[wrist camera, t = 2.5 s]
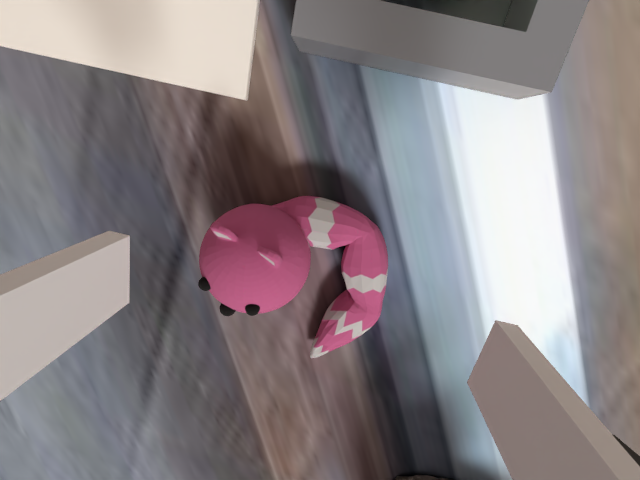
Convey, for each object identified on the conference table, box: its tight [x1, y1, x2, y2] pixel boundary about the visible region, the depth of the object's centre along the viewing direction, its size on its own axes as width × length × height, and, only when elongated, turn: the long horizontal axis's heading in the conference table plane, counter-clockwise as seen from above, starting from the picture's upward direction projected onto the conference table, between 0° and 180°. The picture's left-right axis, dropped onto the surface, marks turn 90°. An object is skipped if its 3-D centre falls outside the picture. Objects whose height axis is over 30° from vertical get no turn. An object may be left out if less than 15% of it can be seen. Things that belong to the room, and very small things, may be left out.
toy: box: [199, 196, 388, 358], centre depth 19 cm, size 11×9×10 cm
